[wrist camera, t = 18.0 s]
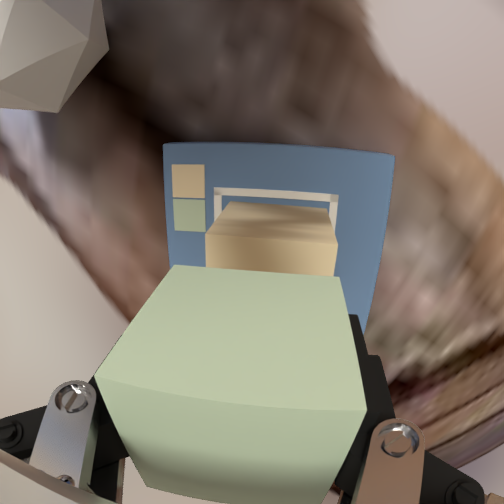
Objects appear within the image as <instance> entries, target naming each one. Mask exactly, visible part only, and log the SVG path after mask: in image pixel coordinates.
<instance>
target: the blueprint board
mask: <svg viewBox="0 0 504 504" xmlns="http://www.w3.org/2000/svg"><path fill="white" fill-rule="evenodd" d="M394 163H395V156H393V155H391V154H387V153H379V152H371V151H363V150H354V149H344V148H334V147H323V146H310V145H296V144H279V143H255V142H171V143H166V144H163V166H164V190H165V209H166V225H167V238H168V251H169V262H170V269H171V268H172V267H173V265H185V266H197V267H206V250H205V234H206V232H207V231H208V230H209V228H210V227H211V226H212V224H213V223H214V222H215V220H216V219H217V218H218V216H219V215H220V214H221V212H222V211H223V210H224V209H225V207H226V206H227V205H228V203H229V202H230V201H235V202H251V203H265V204H279V205H292V206H304V207H315V208H326V209H327V211H328V214H329V217H330V220H331V224H332V227H333V230H334V233H335V236H336V239H337V243H338V249H337V256H336V263H335V269H334V275H333V276H334V277H339V278H340V282H341V286H342V290H343V294H344V298H345V302H346V307H347V311H348V314H357V315H358V317H359V321H360V325H361V329H362V333H363V335H364V331H365V327H366V323H367V319H368V315H369V311H370V307H371V302H372V298H373V293H374V289H375V284H376V279H377V274H378V269H379V264H380V259H381V254H382V248H383V243H384V237H385V231H386V225H387V218H388V212H389V205H390V197H391V189H392V181H393V172H394Z"/></svg>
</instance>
